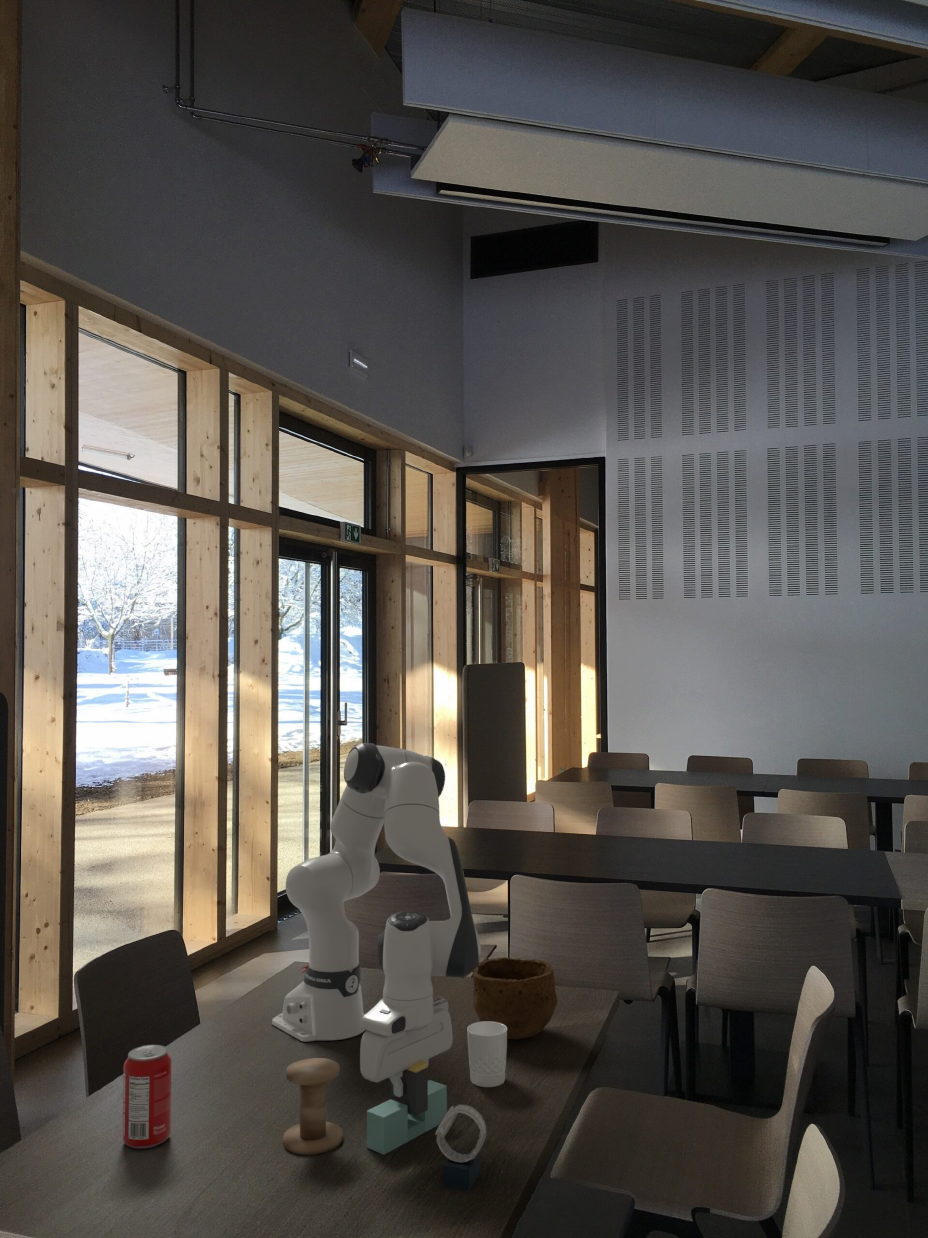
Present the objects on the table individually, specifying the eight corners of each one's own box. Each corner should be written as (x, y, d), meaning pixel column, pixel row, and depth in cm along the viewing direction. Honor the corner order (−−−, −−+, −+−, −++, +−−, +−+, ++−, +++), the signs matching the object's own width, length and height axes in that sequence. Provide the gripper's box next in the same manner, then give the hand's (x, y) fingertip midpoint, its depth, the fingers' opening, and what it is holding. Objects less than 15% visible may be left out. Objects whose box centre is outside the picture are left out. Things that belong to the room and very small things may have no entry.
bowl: (458, 1028, 218) (457, 961, 219) (532, 1016, 225) (531, 951, 226) (493, 1058, 201) (492, 985, 202) (572, 1044, 208) (571, 973, 209)
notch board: (366, 1147, 163) (366, 1111, 163) (430, 1114, 175) (429, 1080, 176) (383, 1155, 161) (383, 1117, 161) (446, 1120, 173) (446, 1086, 173)
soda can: (126, 1156, 161) (127, 1064, 162) (119, 1137, 168) (120, 1048, 169) (174, 1146, 164) (175, 1055, 165) (166, 1127, 171) (167, 1040, 172)
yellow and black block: (390, 1106, 169) (390, 1059, 169) (402, 1100, 171) (402, 1054, 172) (416, 1116, 165) (415, 1068, 166) (427, 1110, 167) (427, 1062, 168)
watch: (442, 1167, 156) (442, 1097, 157) (490, 1175, 154) (490, 1103, 155) (430, 1184, 151) (430, 1112, 152) (480, 1192, 149) (479, 1119, 149)
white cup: (504, 1090, 185) (503, 1037, 186) (463, 1087, 187) (463, 1034, 187) (510, 1074, 193) (510, 1022, 193) (471, 1071, 194) (471, 1020, 195)
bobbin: (270, 1142, 165) (271, 1070, 166) (315, 1121, 173) (315, 1052, 174) (310, 1161, 159) (310, 1085, 159) (354, 1138, 166) (354, 1066, 167)
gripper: (434, 990, 179) (434, 1067, 178) (353, 1021, 164) (354, 1106, 163) (460, 997, 175) (461, 1076, 174) (380, 1030, 160) (381, 1116, 159)
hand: (408, 1091), depth 168 cm, fingers closed on yellow and black block, 3 cm apart
